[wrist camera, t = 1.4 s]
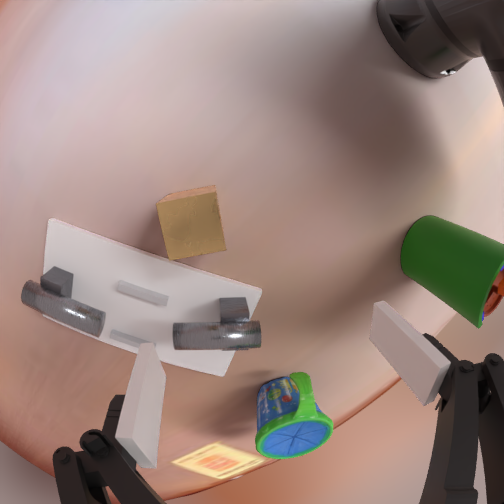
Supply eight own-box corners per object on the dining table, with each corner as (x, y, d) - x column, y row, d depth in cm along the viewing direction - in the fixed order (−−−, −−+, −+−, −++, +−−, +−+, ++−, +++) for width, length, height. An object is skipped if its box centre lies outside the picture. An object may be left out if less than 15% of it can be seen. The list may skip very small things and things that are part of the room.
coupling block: (168, 194, 28) (155, 203, 21) (215, 185, 28) (215, 191, 22) (178, 238, 30) (169, 260, 23) (222, 230, 30) (226, 250, 23)
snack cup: (262, 351, 36) (278, 406, 26) (328, 356, 38) (356, 404, 28) (235, 418, 40) (242, 467, 30) (293, 420, 42) (307, 464, 33)
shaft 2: (254, 296, 32) (262, 322, 27) (252, 332, 33) (260, 360, 28) (176, 298, 31) (170, 324, 25) (180, 334, 32) (176, 362, 27)
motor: (409, 288, 36) (501, 362, 18) (390, 244, 34) (506, 314, 15) (450, 247, 36) (544, 299, 17) (436, 201, 33) (549, 242, 14)
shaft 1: (42, 294, 28) (22, 315, 23) (43, 261, 27) (20, 278, 22) (109, 323, 30) (95, 349, 25) (114, 289, 29) (99, 313, 24)
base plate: (52, 217, 26) (44, 221, 24) (261, 288, 33) (263, 296, 31) (45, 312, 30) (39, 319, 28) (223, 372, 36) (223, 381, 34)
